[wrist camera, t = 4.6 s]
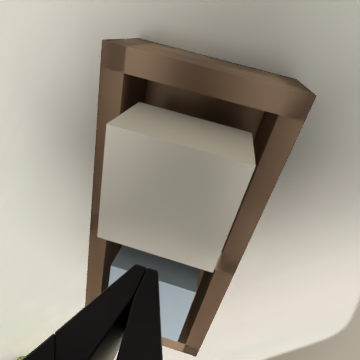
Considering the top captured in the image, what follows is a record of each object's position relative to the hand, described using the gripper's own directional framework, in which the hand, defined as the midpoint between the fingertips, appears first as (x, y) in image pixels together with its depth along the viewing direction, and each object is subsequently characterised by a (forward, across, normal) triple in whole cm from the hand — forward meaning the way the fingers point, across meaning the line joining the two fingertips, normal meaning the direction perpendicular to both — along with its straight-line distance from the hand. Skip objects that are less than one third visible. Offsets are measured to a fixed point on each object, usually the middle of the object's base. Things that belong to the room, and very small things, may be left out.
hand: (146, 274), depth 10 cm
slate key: (+10, +1, +10) cm, 14 cm away
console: (+12, 0, +5) cm, 13 cm away
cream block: (+7, 0, -1) cm, 7 cm away
